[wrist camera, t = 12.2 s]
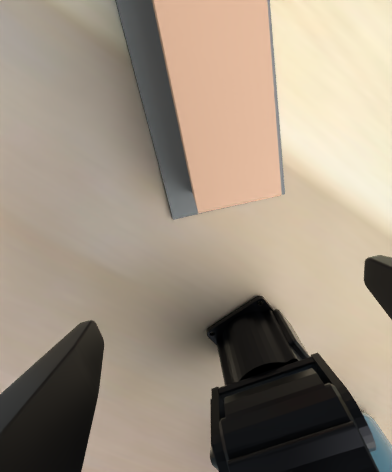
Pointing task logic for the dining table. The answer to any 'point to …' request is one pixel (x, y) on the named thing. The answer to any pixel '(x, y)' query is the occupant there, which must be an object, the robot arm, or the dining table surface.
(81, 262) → the dining table surface
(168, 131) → the mat
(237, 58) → the terracotta block
